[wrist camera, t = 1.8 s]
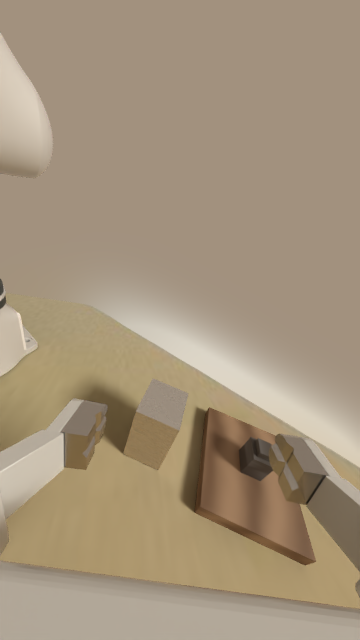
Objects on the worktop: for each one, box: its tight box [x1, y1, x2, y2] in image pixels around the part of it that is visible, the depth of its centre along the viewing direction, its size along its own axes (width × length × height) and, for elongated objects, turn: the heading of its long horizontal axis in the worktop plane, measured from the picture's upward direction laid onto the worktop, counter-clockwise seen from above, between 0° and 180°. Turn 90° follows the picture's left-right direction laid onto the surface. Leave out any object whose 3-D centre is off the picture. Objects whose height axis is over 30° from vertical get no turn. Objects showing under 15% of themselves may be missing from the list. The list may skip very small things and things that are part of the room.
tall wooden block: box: [123, 379, 188, 470], centre depth 24 cm, size 5×5×10 cm
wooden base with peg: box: [195, 408, 316, 565], centre depth 26 cm, size 14×14×7 cm
